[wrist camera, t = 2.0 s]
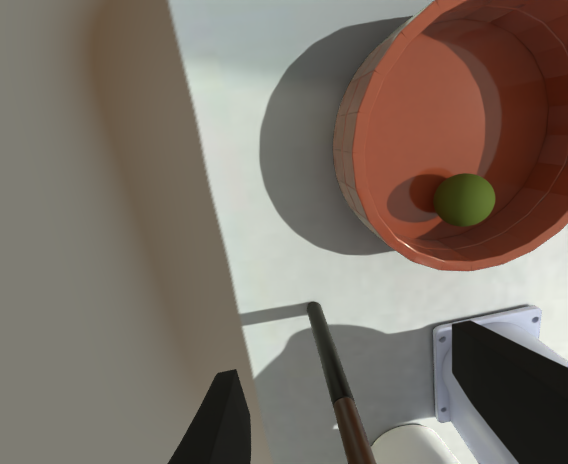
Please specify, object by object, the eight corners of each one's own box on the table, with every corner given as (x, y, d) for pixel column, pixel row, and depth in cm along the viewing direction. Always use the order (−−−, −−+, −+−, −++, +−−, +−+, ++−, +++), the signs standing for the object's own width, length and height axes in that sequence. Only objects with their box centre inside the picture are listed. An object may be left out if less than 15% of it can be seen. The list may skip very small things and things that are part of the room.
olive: (470, 213, 19) (508, 227, 16) (424, 222, 19) (453, 238, 16) (471, 165, 18) (511, 172, 15) (422, 175, 18) (453, 183, 15)
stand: (321, 312, 21) (356, 410, 13) (307, 315, 21) (334, 415, 13) (319, 300, 20) (353, 394, 13) (305, 303, 20) (331, 399, 13)
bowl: (538, 222, 20) (603, 243, 16) (346, 262, 20) (367, 293, 16) (561, -12, 16) (658, -59, 12) (316, 36, 15) (335, 5, 12)
